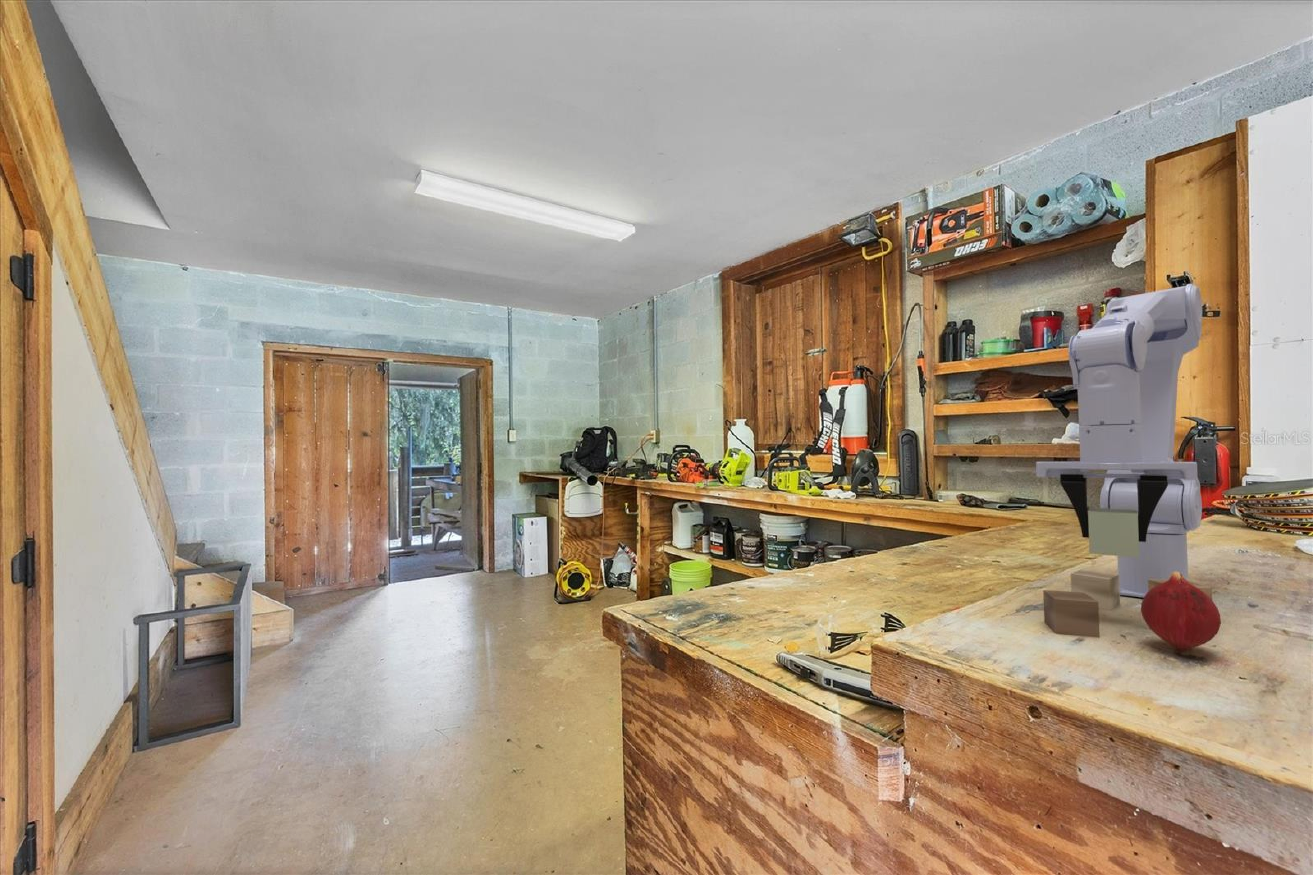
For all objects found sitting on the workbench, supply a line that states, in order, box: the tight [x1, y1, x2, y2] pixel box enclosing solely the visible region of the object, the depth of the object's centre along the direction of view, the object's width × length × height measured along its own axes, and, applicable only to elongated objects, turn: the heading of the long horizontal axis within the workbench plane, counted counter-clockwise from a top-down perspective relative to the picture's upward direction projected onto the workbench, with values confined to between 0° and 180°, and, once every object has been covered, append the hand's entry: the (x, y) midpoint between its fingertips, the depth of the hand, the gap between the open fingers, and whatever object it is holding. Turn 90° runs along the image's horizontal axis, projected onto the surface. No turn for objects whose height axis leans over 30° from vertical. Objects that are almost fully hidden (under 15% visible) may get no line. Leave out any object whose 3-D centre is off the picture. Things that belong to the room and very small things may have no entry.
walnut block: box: [1042, 589, 1101, 639], centre depth 61 cm, size 4×4×4 cm
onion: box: [1140, 571, 1222, 652], centre depth 55 cm, size 6×6×8 cm
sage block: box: [1087, 507, 1139, 558], centre depth 64 cm, size 4×4×5 cm
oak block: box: [1148, 579, 1213, 601], centre depth 65 cm, size 4×4×4 cm
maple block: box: [1070, 568, 1121, 611], centre depth 71 cm, size 4×4×4 cm
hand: (1113, 538), depth 64 cm, fingers closed on sage block, 4 cm apart
